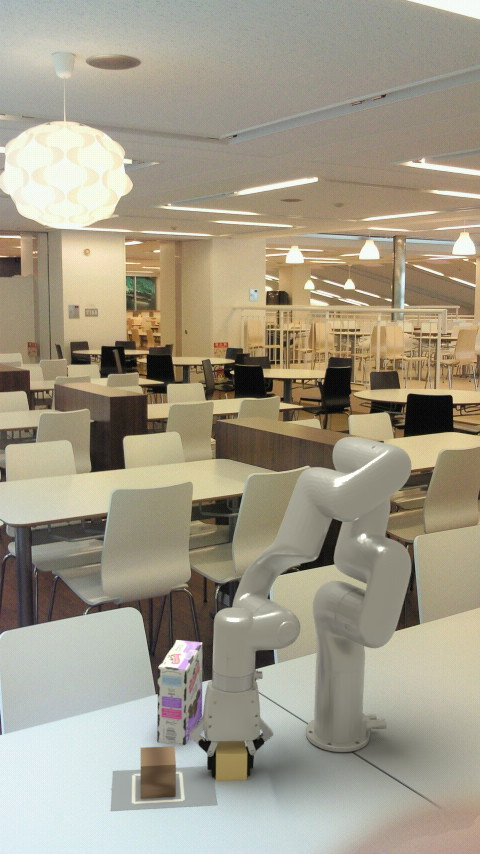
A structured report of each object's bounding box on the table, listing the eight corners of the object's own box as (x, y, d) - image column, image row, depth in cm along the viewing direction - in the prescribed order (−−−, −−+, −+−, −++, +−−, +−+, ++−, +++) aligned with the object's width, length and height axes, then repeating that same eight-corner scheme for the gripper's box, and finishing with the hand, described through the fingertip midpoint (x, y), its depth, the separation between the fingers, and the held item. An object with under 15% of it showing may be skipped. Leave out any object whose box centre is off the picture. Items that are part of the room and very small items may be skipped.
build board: (211, 770, 155) (211, 765, 155) (217, 810, 143) (217, 804, 143) (112, 776, 153) (112, 770, 153) (110, 816, 141) (110, 810, 141)
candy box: (185, 750, 162) (186, 669, 159) (156, 746, 163) (156, 666, 161) (203, 715, 175) (203, 640, 173) (175, 712, 176) (176, 638, 174)
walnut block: (174, 777, 151) (174, 746, 150) (175, 796, 145) (175, 764, 144) (140, 778, 150) (140, 747, 150) (140, 798, 145) (140, 766, 144)
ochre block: (243, 767, 156) (243, 737, 155) (246, 784, 151) (247, 753, 150) (213, 768, 156) (214, 738, 155) (216, 785, 150) (216, 754, 149)
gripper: (277, 668, 155) (273, 760, 158) (184, 669, 153) (181, 762, 156) (284, 686, 148) (280, 782, 150) (186, 688, 146) (183, 785, 148)
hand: (230, 771), depth 153 cm, fingers closed on ochre block, 5 cm apart
